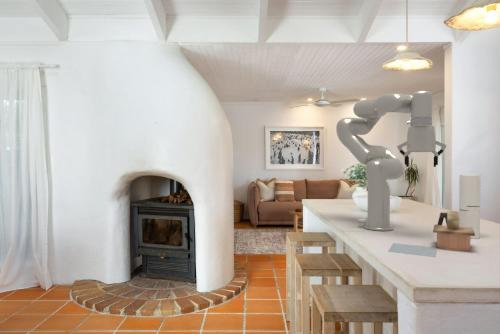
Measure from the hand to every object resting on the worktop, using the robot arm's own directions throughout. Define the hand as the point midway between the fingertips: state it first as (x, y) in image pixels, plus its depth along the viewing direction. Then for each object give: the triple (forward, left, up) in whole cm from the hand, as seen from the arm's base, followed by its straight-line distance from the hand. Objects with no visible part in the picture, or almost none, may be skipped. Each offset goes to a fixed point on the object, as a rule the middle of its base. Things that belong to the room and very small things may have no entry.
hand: (420, 166), depth 138 cm
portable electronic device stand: (+10, +24, -29) cm, 39 cm away
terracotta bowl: (+11, -12, -28) cm, 33 cm away
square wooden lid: (+11, -12, -22) cm, 28 cm away
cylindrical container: (+17, +14, -28) cm, 36 cm away
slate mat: (-1, -23, -28) cm, 36 cm away
